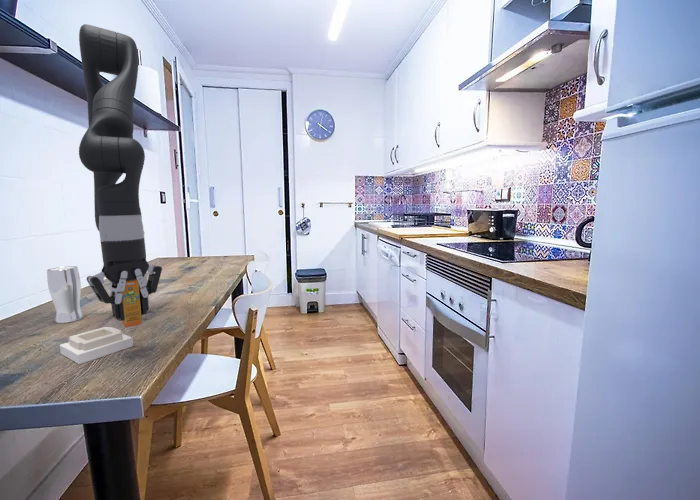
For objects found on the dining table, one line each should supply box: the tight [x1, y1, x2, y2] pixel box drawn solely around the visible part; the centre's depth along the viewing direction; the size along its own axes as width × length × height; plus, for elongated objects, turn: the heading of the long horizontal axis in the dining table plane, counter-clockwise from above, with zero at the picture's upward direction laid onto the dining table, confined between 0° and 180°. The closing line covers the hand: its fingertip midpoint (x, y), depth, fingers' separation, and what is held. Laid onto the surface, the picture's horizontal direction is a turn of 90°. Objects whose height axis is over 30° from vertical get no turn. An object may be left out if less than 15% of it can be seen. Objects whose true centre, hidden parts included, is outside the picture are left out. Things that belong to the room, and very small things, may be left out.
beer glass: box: [46, 265, 84, 325], centre depth 93 cm, size 7×7×15 cm
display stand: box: [59, 326, 134, 365], centre depth 73 cm, size 10×10×4 cm
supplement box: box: [121, 279, 143, 329], centre depth 70 cm, size 3×3×10 cm
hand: (131, 316), depth 71 cm, fingers closed on supplement box, 3 cm apart
